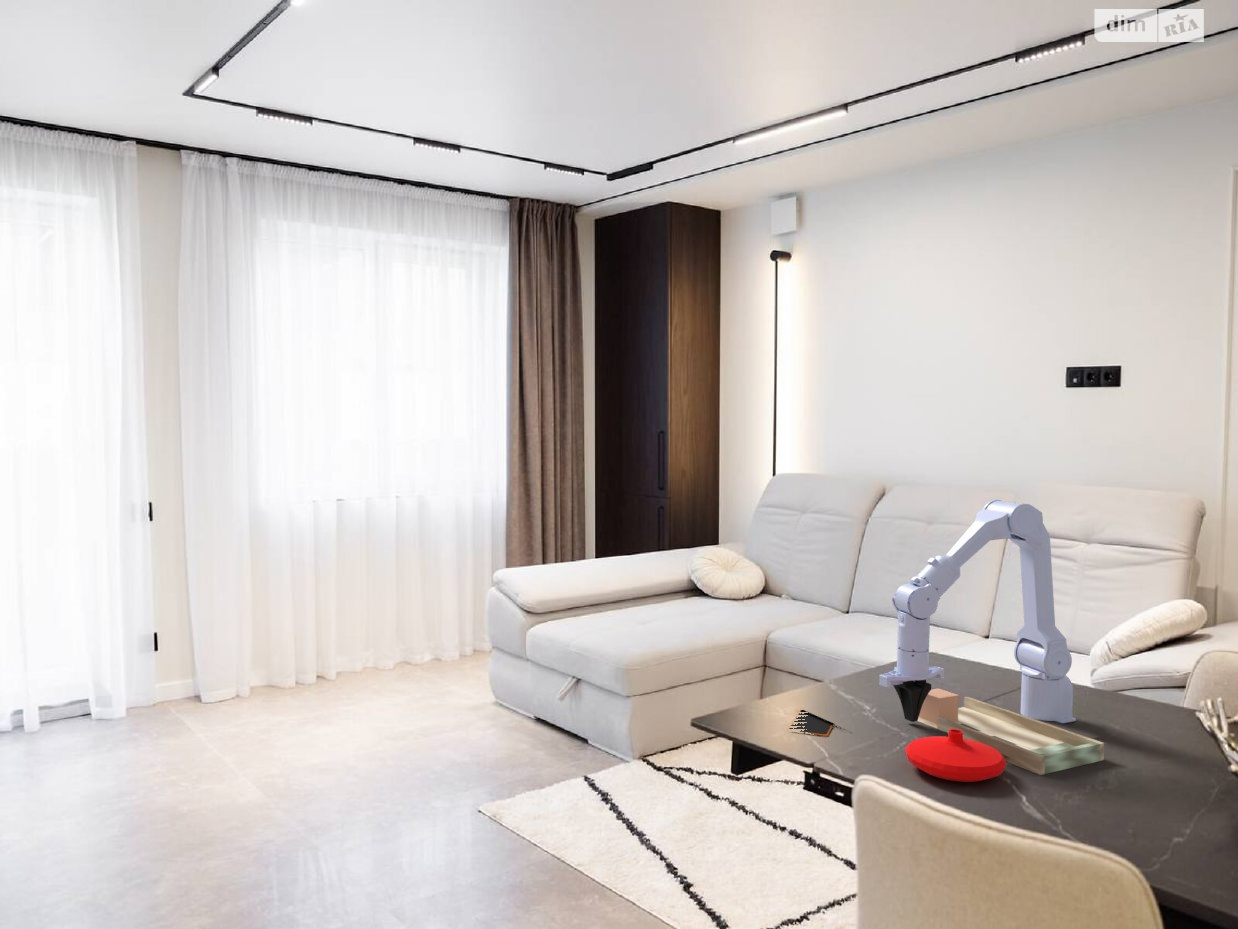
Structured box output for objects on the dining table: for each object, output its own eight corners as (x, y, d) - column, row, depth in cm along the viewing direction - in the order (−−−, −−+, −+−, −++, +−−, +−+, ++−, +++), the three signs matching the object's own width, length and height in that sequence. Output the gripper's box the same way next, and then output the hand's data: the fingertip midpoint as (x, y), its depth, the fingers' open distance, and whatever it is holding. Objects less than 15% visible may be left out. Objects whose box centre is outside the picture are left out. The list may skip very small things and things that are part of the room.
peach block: (938, 713, 184) (938, 688, 184) (957, 721, 179) (958, 695, 179) (919, 717, 181) (919, 691, 181) (938, 724, 177) (939, 698, 177)
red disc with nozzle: (995, 800, 145) (997, 754, 144) (893, 778, 153) (894, 735, 153) (1013, 768, 158) (1015, 727, 158) (918, 750, 166) (919, 710, 166)
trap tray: (967, 711, 189) (967, 696, 189) (1103, 760, 162) (1104, 743, 162) (907, 722, 181) (907, 706, 181) (1040, 775, 155) (1040, 757, 155)
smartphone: (786, 734, 175) (787, 729, 175) (803, 709, 190) (803, 705, 190) (828, 739, 172) (828, 734, 172) (841, 713, 188) (841, 709, 188)
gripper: (925, 640, 183) (923, 709, 184) (868, 647, 177) (866, 719, 177) (953, 648, 177) (951, 719, 178) (895, 656, 170) (893, 730, 171)
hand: (911, 720), depth 177 cm, fingers closed
